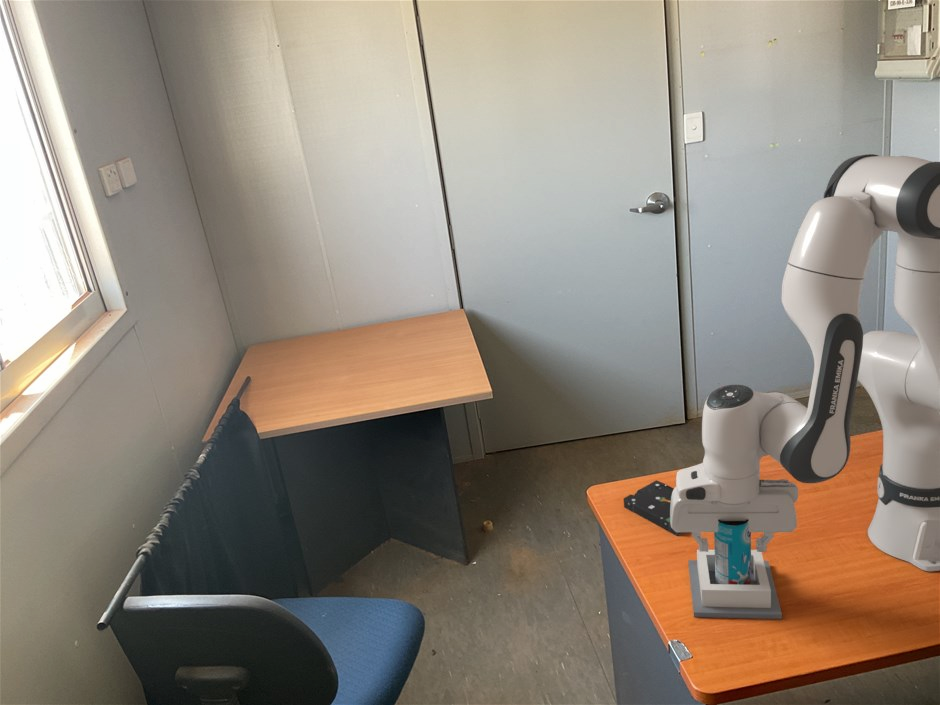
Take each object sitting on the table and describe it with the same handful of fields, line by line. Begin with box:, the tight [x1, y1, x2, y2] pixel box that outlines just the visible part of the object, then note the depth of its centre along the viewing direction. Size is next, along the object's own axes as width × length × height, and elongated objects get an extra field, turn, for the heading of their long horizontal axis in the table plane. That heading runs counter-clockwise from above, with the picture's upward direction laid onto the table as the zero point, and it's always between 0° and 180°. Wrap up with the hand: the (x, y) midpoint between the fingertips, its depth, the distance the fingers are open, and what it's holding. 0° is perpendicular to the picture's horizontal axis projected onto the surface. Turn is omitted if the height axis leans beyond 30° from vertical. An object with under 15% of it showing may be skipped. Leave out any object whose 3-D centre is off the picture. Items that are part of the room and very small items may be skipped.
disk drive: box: [623, 480, 684, 537], centre depth 159 cm, size 10×3×15 cm
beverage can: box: [713, 520, 752, 585], centre depth 132 cm, size 6×6×15 cm
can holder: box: [687, 549, 783, 620], centre depth 134 cm, size 14×14×4 cm
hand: (732, 549), depth 132 cm, fingers open, 8 cm apart
